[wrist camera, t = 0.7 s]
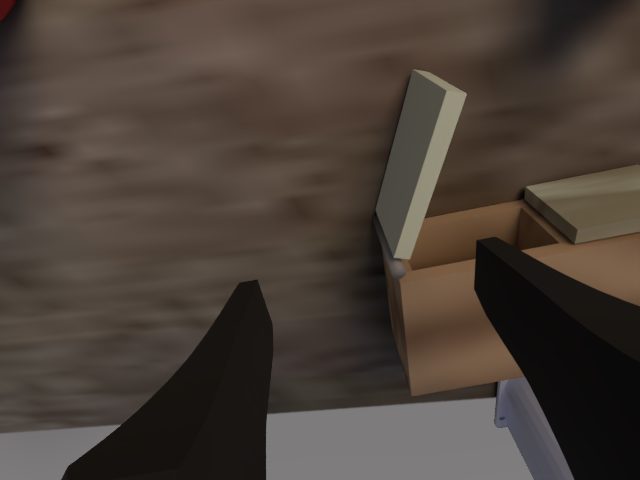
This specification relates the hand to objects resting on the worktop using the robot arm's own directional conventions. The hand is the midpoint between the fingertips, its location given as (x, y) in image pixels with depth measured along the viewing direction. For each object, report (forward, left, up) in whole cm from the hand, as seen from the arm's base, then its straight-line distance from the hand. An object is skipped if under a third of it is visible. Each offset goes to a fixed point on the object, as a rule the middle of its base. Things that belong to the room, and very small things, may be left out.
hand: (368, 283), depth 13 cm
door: (0, -3, -10) cm, 10 cm away
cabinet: (-9, -9, -10) cm, 16 cm away
